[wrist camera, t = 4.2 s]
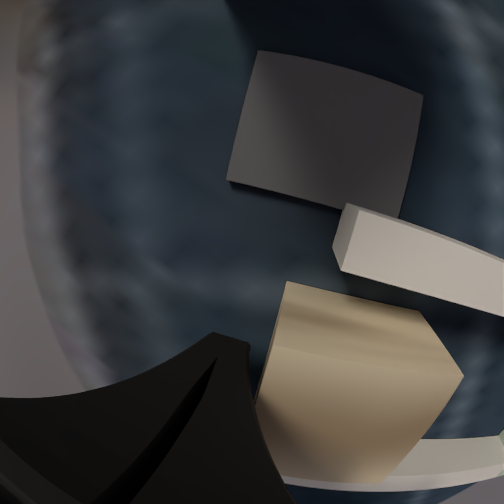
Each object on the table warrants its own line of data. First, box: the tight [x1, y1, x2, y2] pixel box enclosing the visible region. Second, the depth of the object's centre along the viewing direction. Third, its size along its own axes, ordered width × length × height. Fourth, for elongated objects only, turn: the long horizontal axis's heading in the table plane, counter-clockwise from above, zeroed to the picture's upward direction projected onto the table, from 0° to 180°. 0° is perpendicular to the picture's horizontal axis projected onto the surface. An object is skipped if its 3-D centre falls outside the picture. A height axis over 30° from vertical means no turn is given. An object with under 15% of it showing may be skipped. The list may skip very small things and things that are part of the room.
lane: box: [281, 203, 504, 492], centre depth 8 cm, size 11×16×2 cm, turn 76°
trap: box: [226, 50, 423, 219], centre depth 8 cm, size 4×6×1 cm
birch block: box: [254, 281, 464, 484], centre depth 8 cm, size 5×5×4 cm
